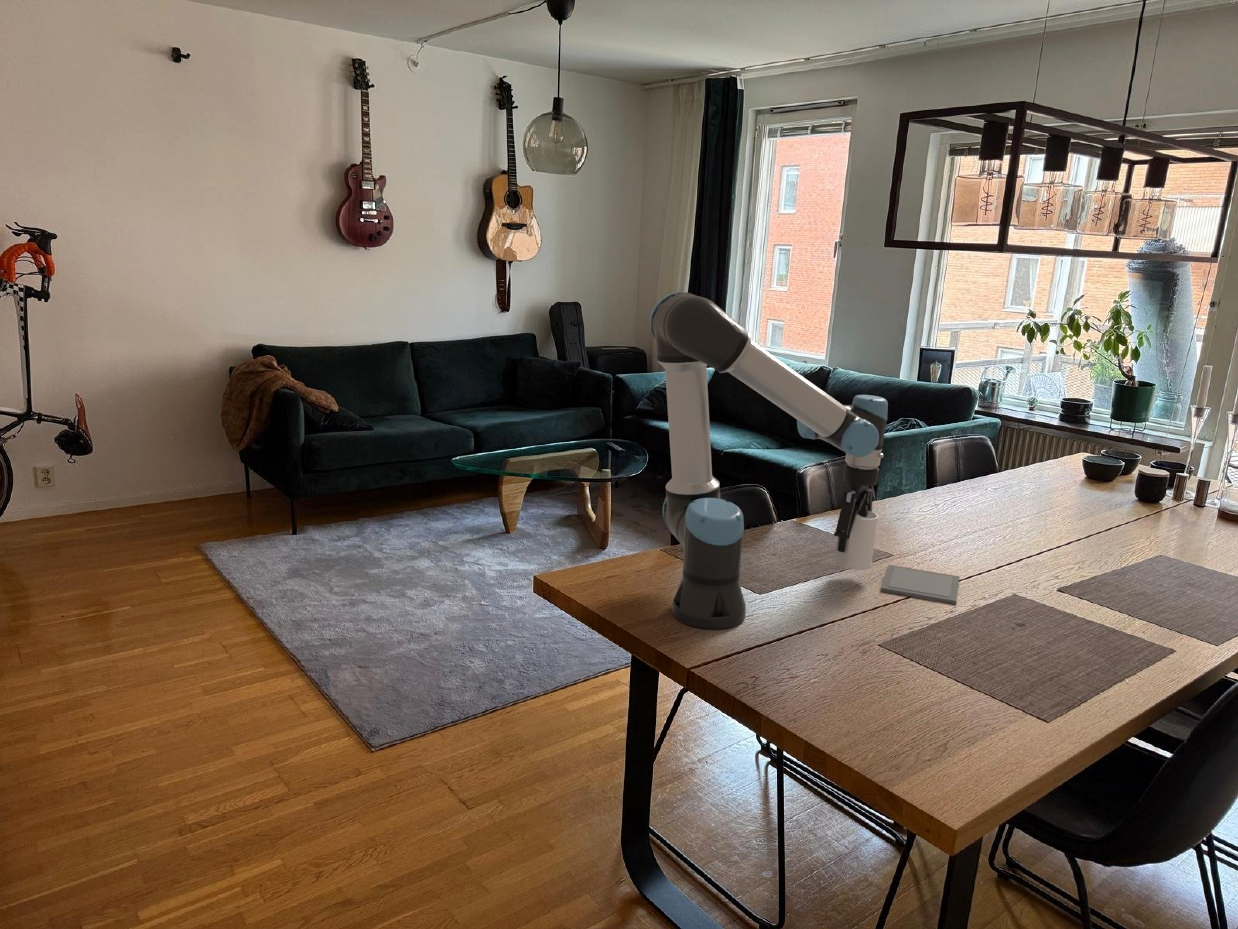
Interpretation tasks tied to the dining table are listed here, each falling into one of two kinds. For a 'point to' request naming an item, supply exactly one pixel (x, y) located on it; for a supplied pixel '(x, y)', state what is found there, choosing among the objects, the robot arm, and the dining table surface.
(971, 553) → the dining table surface
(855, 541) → the mug
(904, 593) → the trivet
